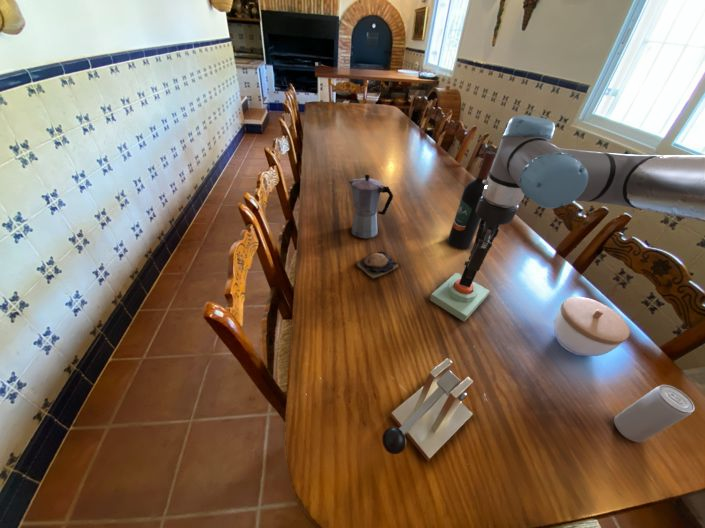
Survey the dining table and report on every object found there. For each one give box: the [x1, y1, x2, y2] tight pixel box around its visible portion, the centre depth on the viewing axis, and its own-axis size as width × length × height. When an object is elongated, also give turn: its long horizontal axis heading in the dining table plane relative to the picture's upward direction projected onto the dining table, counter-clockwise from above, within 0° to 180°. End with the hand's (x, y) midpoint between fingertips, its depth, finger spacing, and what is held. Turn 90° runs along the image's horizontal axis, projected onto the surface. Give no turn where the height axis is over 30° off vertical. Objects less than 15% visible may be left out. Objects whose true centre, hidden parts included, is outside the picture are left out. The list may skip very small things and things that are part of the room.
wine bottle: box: [447, 150, 497, 250], centre depth 90 cm, size 8×8×30 cm
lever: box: [381, 369, 461, 455], centre depth 46 cm, size 15×4×4 cm, turn 126°
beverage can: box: [613, 384, 696, 443], centre depth 51 cm, size 5×5×12 cm
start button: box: [454, 279, 473, 295], centre depth 76 cm, size 4×4×2 cm
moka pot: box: [348, 174, 394, 239], centre depth 94 cm, size 10×15×20 cm, turn 64°
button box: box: [429, 272, 491, 323], centre depth 78 cm, size 13×10×4 cm
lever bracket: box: [390, 357, 474, 462], centre depth 50 cm, size 12×9×14 cm
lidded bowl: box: [552, 296, 631, 357], centre depth 66 cm, size 13×13×11 cm
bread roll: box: [356, 250, 399, 280], centre depth 86 cm, size 11×8×4 cm
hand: (464, 283), depth 75 cm, fingers closed
